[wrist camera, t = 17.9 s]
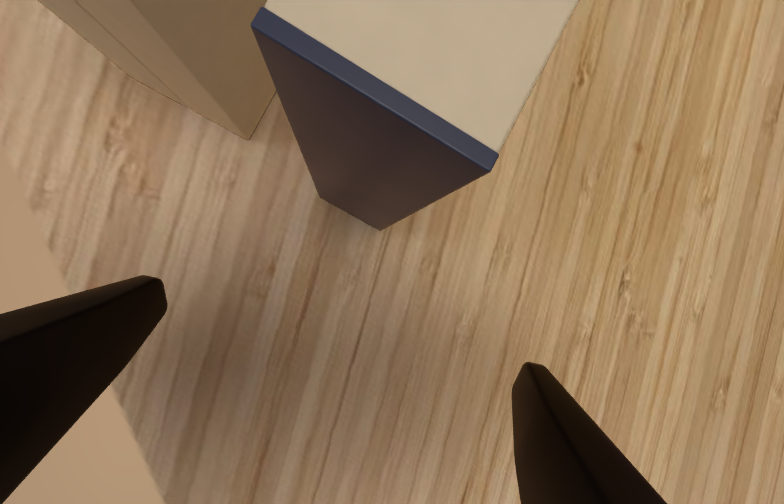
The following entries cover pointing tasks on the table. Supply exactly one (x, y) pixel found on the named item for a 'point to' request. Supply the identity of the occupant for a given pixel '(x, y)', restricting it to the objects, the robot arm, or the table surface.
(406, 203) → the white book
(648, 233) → the table surface
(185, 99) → the tan rectangular block
